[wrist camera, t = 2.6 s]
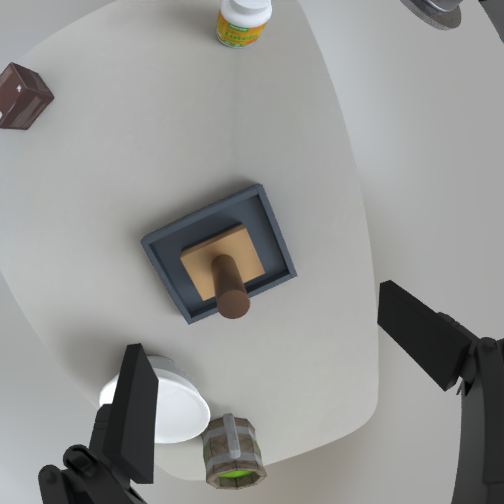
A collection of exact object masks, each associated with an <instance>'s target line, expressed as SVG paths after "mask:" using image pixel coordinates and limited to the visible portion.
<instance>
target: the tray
mask: <svg viewBox="0 0 504 504" xmlns="http://www.w3.org/2000/svg"><path fill="white" fill-rule="evenodd" d="M240 221H241V222H242V223H243V225H244V226H245V228H246V229H247V232H248V234H249V236H250V239H251V241H252V243H253V246H254V248H255V250H256V253H257V255H258V257H259V260H260V262H261V264H262V267H263V269H264V271H265V273H264V274H262V275H260V276H258V277H256V278H254V279H251V280H249V281H247V282H245V283H243V284H244V286H245V289H246V291H247V294H248V297H249V298H251V297H253V296H255V295H257V294H260V293H262V292H264V291H266V290H268V289H270V288H272V287H275V286H277V285H279V284H281V283H283V282H285V281H287V280H290V279H291V278H294V277H296V276H297V273H296V271H295V268H294V265H293V263H292V260H291V257H290V255H289V252H288V249H287V247H286V244H285V241H284V239H283V236H282V234H281V231H280V228H279V226H278V223H277V221H276V218H275V215H274V213H273V210H272V208H271V205H270V203H269V200H268V198H267V195H266V193H265V190H264V188H263V185H261V184H256V185H253V186H251V187H249V188H246V189H244V190H242V191H240V192H237V193H235V194H233V195H230V196H228V197H226V198H224V199H221V200H219V201H217V202H215V203H213V204H210V205H208V206H206V207H204V208H202V209H200V210H197V211H195V212H193V213H191V214H189V215H187V216H185V217H183V218H181V219H178V220H176V221H174V222H172V223H170V224H168V225H166V226H164V227H162V228H160V229H158V230H156V231H154V232H152V233H150V234H148V235H146V236H144V237H143V238H142V240H141V241H140V242H141V244H142V246H143V248H144V250H145V252H146V253H147V255H148V257H149V259H150V261H151V263H152V264H153V266H154V268H155V270H156V271H157V273H158V275H159V277H160V278H161V280H162V282H163V284H164V285H165V287H166V289H167V290H168V292H169V294H170V295H171V297H172V299H173V300H174V302H175V304H176V305H177V307H178V309H179V310H180V312H181V313H182V315H183V317H184V318H185V320H186V321H187V323H188V324H192V323H194V322H196V321H199V320H201V319H203V318H206V317H208V316H210V315H212V314H215V313H217V312H219V311H218V309H217V303H216V297H215V296H214V297H211V298H209V299H207V300H205V301H203V299H202V298H201V296H200V294H199V292H198V290H197V289H196V287H195V285H194V283H193V281H192V280H191V278H190V276H189V274H188V272H187V270H186V269H185V267H184V265H183V263H182V261H181V259H180V255H181V249H182V248H184V247H186V246H188V245H190V244H192V243H195V242H197V241H199V240H201V239H203V238H205V237H207V236H210V235H212V234H214V233H216V232H218V231H220V230H223V229H225V228H227V227H229V226H231V225H234V224H236V223H238V222H240Z"/></svg>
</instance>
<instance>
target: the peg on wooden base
mask: <svg viewBox="0 0 504 504" xmlns="http://www.w3.org/2000/svg"><path fill="white" fill-rule="evenodd" d="M180 259H181V261H182V263H183V265H184V267H185V269H186V270H187V272H188V274H189V276H190V278H191V280H192V281H193V283H194V285H195V287H196V289H197V290H198V292H199V294H200V296H201V298H202V299H203V301H205V300H207V299H209V298H211V297H214V296H215V297H216V303H217V309H218V311H219V313H220V314H221V315H222V316H224V317H226V318H229V319H236V318H240V317H242V316H243V315H245V314H246V313H247V311H248V310H249V307H250V299H249V297H248V294H247V291H246V289H245V286H244V284H243V283H245V282H247V281H249V280H251V279H254V278H256V277H258V276H260V275H262V274H264V273H265V271H264V269H263V267H262V264H261V262H260V260H259V257H258V255H257V253H256V250H255V248H254V246H253V243H252V241H251V239H250V236H249V234H248V232H247V229H246V228H245V226H244V225H243V223H242V222H241V221H240V222H238V223H236V224H234V225H231V226H229V227H227V228H225V229H223V230H220V231H218V232H216V233H214V234H212V235H210V236H207V237H205V238H203V239H201V240H199V241H197V242H195V243H192V244H190V245H188V246H186V247H184V248H182V249H181V255H180Z"/></svg>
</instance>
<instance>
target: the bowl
mask: <svg viewBox="0 0 504 504" xmlns="http://www.w3.org/2000/svg"><path fill="white" fill-rule="evenodd" d="M147 358H148V360H149V362H150V364H151V366H152V368H153V370H154V372H155V374H156V376H157V378H158V380H159V386H158V397H157V409H156V423H155V441H154V443H177V442H183V441H186V440H189V439H192V438H194V437H196V436H198V435H199V434H200V433H202V432H203V431H204V430H205V428H206V427H207V426H208V423H209V421H210V411H209V407H208V405H207V404H206V402H205V400H204V399H203V398H202V397H201V396H200V394H199V393H198V390H197V388H196V386H195V384H194V383H193V381H192V380H191V379H190V378H189V377H188V376H187V375H186V374H185V373H184V372H183V371H182V370H181V368H180V367H179V366H178V365H177V364H176V363H175V362H173V361H171V360H170V359H167V358H165V357H161V356H147ZM119 373H120V371H119V372H118V374H117V375H116V376H115V378H114V379H113V380H111V381H110V382H109V383H107V384H106V385H105V386H104V387H103V389H102V390H101V392H100V395H99V405H100V408H101V406H102V405H103V404H109V403H112V401H113V397H114V393H115V389H116V385H117V381H118V377H119Z"/></svg>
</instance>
